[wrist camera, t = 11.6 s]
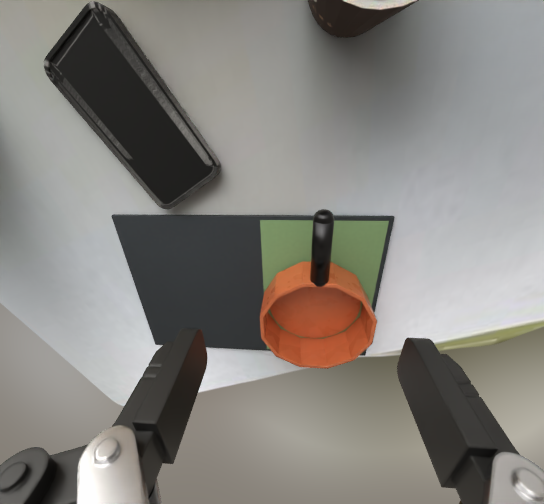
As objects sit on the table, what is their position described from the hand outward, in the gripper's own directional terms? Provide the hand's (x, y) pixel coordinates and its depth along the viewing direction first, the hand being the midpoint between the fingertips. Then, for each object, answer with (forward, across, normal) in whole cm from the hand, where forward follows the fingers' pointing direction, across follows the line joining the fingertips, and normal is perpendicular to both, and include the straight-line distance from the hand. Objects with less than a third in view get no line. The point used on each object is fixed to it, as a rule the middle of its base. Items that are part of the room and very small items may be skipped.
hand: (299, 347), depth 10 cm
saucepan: (+17, -2, +8) cm, 19 cm away
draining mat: (+18, +5, +11) cm, 22 cm away
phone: (+18, +14, -8) cm, 24 cm away
